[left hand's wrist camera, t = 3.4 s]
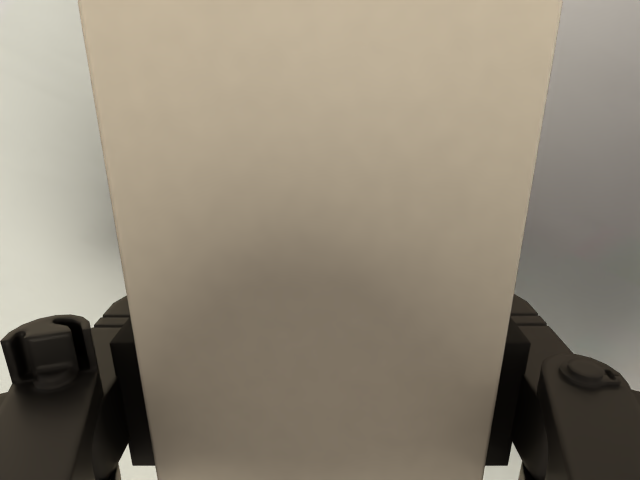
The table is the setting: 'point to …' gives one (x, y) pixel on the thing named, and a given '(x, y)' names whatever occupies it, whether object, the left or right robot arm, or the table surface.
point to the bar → (320, 224)
